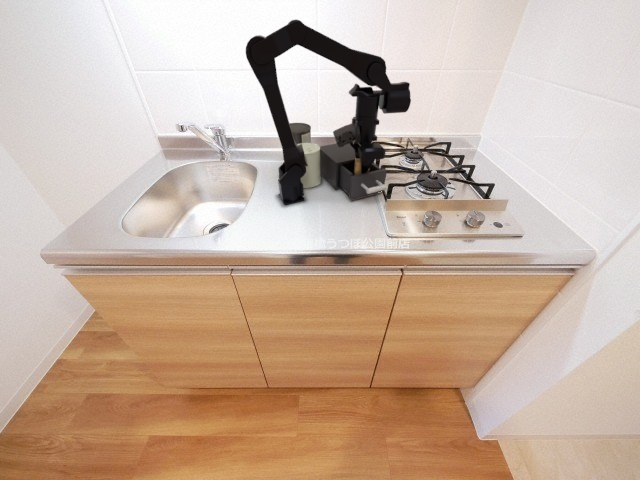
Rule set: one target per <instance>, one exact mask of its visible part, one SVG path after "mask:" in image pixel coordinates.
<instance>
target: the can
mask: <svg viewBox="0 0 640 480" xmlns="http://www.w3.org/2000/svg"><path fill="white" fill-rule="evenodd" d="M300 144H302V146H303V150H304V155H305V157H306V160H307V164H308V166H306V173H305V175H304V176H303V177H302V178H301V182H302V183H303V189H310V188H315V187H318V186H319V185H320V184H321V183H322V179H321V178H322V175H321V174H320V146H321V145H319V144H316V143H313V142H311V143H300ZM300 144H297V146H298V145H300Z"/></svg>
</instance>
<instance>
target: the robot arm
mask: <svg viewBox="0 0 640 480" xmlns="http://www.w3.org/2000/svg"><path fill="white" fill-rule="evenodd" d="M295 46H300V47H302V48H304V49H306V50H308V51H310V52H312V53H314V54H316V55H319V56H320V57H323V58H324V59H327V60H329V61H330V62H333V63H335V64H337V65H339V66H341V67H343V68H344V69H345V70H346V71H347V72H349V73H350V74H351V75H352V76H354V77H355V78H356V79H358V80H359V81H361V82H362V83H364V84H365V85H367V86H360V85H359V84H358V83H354V85H353V87H352V88H351V89H350V90H348V94H349V95H350V96H351V97H352V98H356V101H355V115H354V116H353V117H352V118H351V123H349V124H346V125H343V126H341V127H339V128H337V129H335V130H333V132H332V134H333V138H334V140H335V142H336V143H337V145H338V147H343V146H344V145H346V144H348V143H349V144H350V145H351V146H352V147H353V148H354V151H355V157H356V158H360V162H361V174H363V173H366V172H367V171H368V169H369V168H370V166H371V165H372V163H374V161H375V160H384V159H385V158H386V152H387V151H386V149H385V148H384V147H383V146H382V145H381V144H380V143H379V142H377V141H378V136H377V135H376V133H377V126H379V125H380V120H379V118H378V115H379V110H381V112H382V114H399V113H407V112H408V111H409V109H410V107H411V102H412V99H411V90H410V85H411V84H410V82H408V81H400V82H393V83H392V82H391V80H390V78H389V77H388V75H387V65H386V60H385V59H384V58H382V56H379V55H375V54H372V53H368V52H364V51H360V50H356V49H353V48H350V47H349V46H346V45H345V44H343V43H341V42H339V41H337V40H335V39H333V38H331V37H329V36H328V35H325V34H323V33H321V32H320V31H317V30H315V29H313V28H311V26H308V25H306V24H304V22H302V21H301V20H299V19H291V20H290V21H289V22H288V23H286V24H285V25H284V26H282V27H280V28H279V29H277V30H275V31H273V32H271V33H270V34H268V35H266V36H264V35H262V34H261V35H260V34H258V35H257V34H256V35H254V36H253V37H250V39H249V40H248V41H247V43H246V46H245V57H246V60H247V63H248V64H249V66H250V68H251V70H252V72H253V74H254V76H255V78H256V79H257V81H258V83H259V85H260V87H261V89H262V90H263V93H264V96H265V99H266V102H267V105H268V106H267V107H268V108H269V111H270V114H271V118H272V121H273V124H274V127H275V130H276V133H277V136H278V139H279V142H280V146H281V149H282V156H283V162H282V163H281V165H279V167H278V179H277V184H278V190H279V193H278V197H279V199H280V200H281V202H282V204H283V205H284V206H287V205H292V204H296V203H301V202H303V201H305V197H304V195H305V193H304V188H303V183H302V182H301V178H302V177H303V176H304V175H305V173H306V166H308V164H307V160H306V157H305V155H304V150H303V146H302V144H300V145H298V146H297V144H296V142H295V140H294V137H293V134H292V130H291V127H290V120H289V117H288V114H287V110H286V106H285V103H284V99H283V96H282V93H281V89H280V86H279V80H278V74H277V66H276V58H278V57H280V56H281V55H283V54H285V53H286V52H288V51H290V50H291V49H292V48H294V47H295ZM373 87H376V88H378V90H374V89H373ZM336 143H335V144H336Z"/></svg>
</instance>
